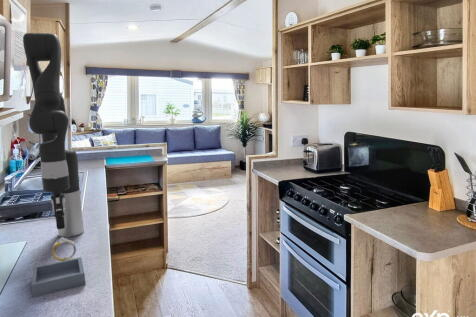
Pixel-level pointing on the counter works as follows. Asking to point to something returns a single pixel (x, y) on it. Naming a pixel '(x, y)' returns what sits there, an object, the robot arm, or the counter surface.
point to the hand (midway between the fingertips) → (60, 224)
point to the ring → (59, 244)
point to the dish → (57, 276)
